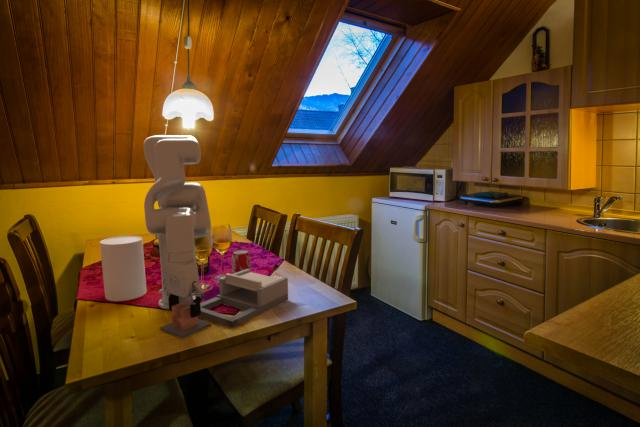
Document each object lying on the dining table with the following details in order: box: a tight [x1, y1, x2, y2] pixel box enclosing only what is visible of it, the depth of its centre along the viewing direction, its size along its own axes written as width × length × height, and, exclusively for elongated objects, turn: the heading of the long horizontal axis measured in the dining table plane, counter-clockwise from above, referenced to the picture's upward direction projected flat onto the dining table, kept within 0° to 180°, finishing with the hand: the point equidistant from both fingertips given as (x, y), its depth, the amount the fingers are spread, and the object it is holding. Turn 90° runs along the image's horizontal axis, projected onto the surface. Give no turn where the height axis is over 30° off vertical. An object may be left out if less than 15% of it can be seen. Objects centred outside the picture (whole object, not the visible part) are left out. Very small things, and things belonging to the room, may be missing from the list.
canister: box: [99, 235, 148, 302], centre depth 147 cm, size 14×14×20 cm
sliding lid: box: [224, 271, 280, 291], centre depth 141 cm, size 15×12×3 cm
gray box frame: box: [198, 269, 289, 329], centre depth 136 cm, size 19×26×8 cm
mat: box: [160, 318, 212, 339], centre depth 121 cm, size 10×10×1 cm
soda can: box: [231, 249, 252, 274], centre depth 161 cm, size 7×7×12 cm
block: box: [171, 301, 199, 330], centre depth 121 cm, size 5×5×6 cm
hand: (184, 312), depth 121 cm, fingers open, 9 cm apart
